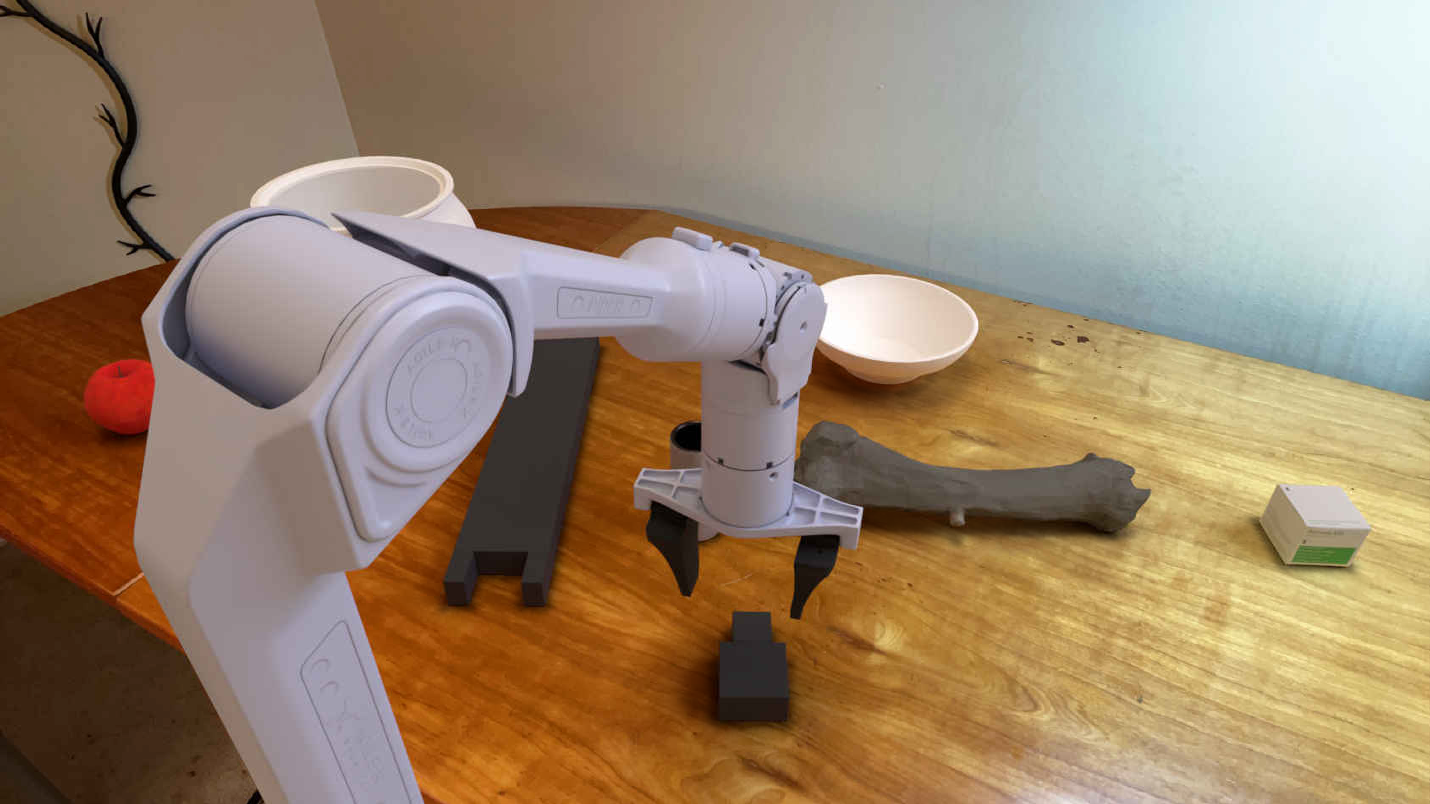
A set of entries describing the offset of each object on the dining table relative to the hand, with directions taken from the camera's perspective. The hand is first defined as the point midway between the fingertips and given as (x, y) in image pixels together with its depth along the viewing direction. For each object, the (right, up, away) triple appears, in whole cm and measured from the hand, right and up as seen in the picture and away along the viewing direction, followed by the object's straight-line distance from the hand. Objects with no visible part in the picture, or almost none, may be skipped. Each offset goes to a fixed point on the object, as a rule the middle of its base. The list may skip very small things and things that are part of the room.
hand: (743, 597), depth 63 cm
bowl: (+17, +18, +42) cm, 49 cm away
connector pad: (+1, -7, +7) cm, 10 cm away
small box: (+51, +1, +19) cm, 54 cm away
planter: (-4, +2, +20) cm, 21 cm away
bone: (+21, +3, +22) cm, 30 cm away
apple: (-62, +11, +32) cm, 70 cm away
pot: (-44, +25, +52) cm, 72 cm away
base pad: (-20, +8, +29) cm, 36 cm away
